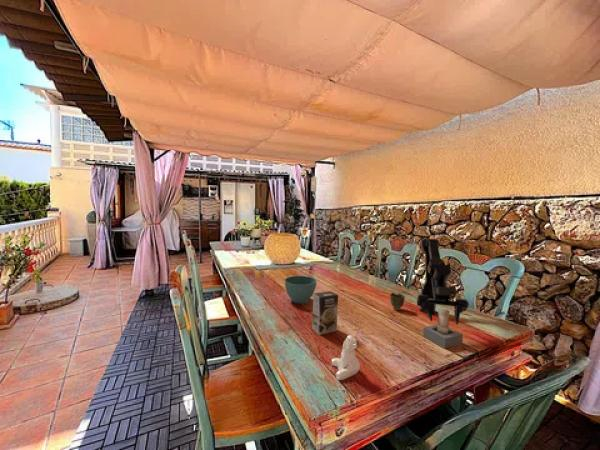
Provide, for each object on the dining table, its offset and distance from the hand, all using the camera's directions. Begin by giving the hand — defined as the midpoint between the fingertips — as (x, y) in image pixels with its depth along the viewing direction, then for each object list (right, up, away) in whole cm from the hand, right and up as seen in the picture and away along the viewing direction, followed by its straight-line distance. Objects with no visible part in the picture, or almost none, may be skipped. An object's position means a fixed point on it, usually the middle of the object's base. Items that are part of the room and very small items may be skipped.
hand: (444, 322), depth 104 cm
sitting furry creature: (-43, -9, -20) cm, 48 cm away
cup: (-6, -6, +34) cm, 35 cm away
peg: (0, -8, +2) cm, 8 cm away
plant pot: (-58, -4, +44) cm, 73 cm away
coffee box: (-47, -7, +8) cm, 49 cm away
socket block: (0, -8, +2) cm, 8 cm away
